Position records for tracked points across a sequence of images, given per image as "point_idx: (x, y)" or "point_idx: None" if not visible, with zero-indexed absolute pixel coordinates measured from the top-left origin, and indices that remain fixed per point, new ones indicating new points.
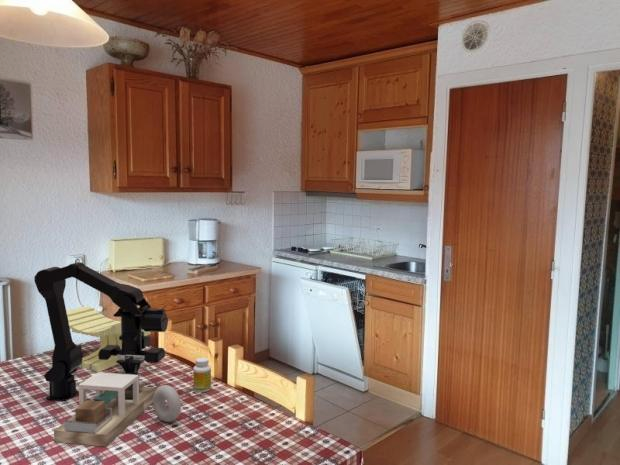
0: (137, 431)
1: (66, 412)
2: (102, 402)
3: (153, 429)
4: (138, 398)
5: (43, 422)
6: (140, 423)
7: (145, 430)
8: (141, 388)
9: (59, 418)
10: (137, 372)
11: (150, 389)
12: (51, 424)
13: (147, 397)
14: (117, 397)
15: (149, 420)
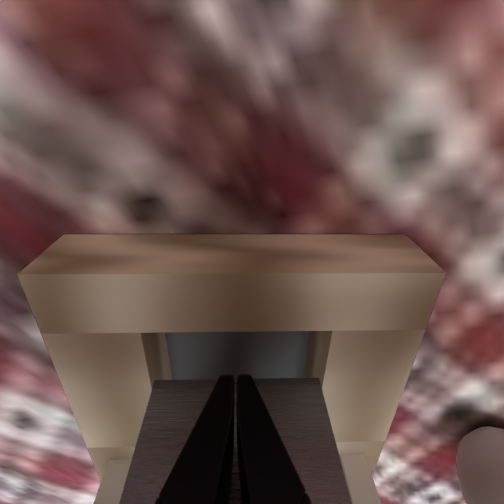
0: (386, 488)
1: (4, 438)
2: None
3: (441, 474)
4: (373, 488)
5: (2, 494)
6: (381, 455)
7: (413, 481)
8: (302, 306)
9: (30, 471)
10: (288, 458)
11: (385, 312)
12: (47, 498)
13: (396, 408)
14: (159, 349)
15: (412, 437)
